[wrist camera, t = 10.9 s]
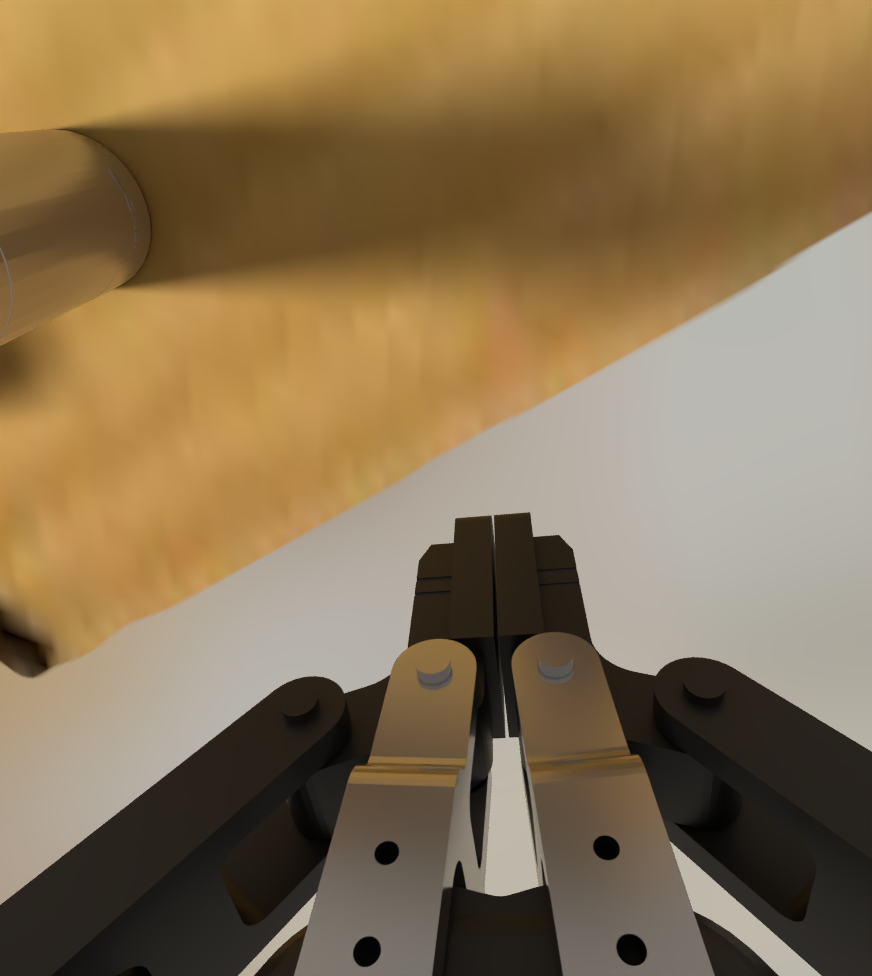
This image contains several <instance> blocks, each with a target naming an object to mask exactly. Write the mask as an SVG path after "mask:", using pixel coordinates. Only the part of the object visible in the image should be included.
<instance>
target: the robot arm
mask: <svg viewBox="0 0 872 976" xmlns="http://www.w3.org/2000/svg"><path fill="white" fill-rule="evenodd" d="M150 238H151V231H150V218H149V214H148V209H147V205H146V202H145V200H144V197H143V195H142V192H141V190H140V188H139V186H138V184H137V183H136V181H135V179H134V178H133V176H132V175H131V173H130V172H129V170H128V169H127V168H126V167H125V166H124V165H123V164H122V162H121V161H120V160H119V159H118V158H117V157H116V156H115V155H114V154H113V153H111V152H110V151H109V150H108V149H106V148H105V147H104V146H103V145H101V144H99V143H98V142H96V141H94V140H92V139H90V138H88V137H86V136H84V135H81V134H78V133H74V132H71V131H67V130H54V129H50V130H37V131H24V132H7V133H0V346H1V345H3V344H5V343H7V342H9V341H11V340H13V339H15V338H17V337H19V336H21V335H23V334H25V333H27V332H29V331H31V330H33V329H35V328H37V327H39V326H41V325H43V324H45V323H47V322H49V321H51V320H52V319H54V318H56V317H58V316H60V315H62V314H64V313H66V312H68V311H70V310H72V309H74V308H76V307H78V306H80V305H82V304H84V303H86V302H88V301H90V300H92V299H94V298H96V297H98V296H100V295H102V294H104V293H106V292H108V291H110V290H112V289H114V288H116V287H118V286H120V285H122V284H123V283H125V282H126V281H128V280H129V279H130V278H132V277H133V276H134V275H135V274H136V273H137V271H138V270H139V269H140V268H141V266H142V265H143V262H144V260H145V258H146V256H147V253H148V249H149V244H150ZM494 525H495V543H494V534H493V525H492V517H491V516H480V517H468V518H456V519H455V533H454V543H451V544H450V543H449V544H435V545H431V546H430V547H429V549H428V550H427V551H426V553H425V554H424V555H423V556H422V558H421V559H420V560H419V566H418V573H417V582H416V588H415V597H414V604H413V612H412V619H411V627H410V634H409V642H408V649H406V650H405V651H404V652H402V653H401V654H400V656H399V657H398V658H397V659H396V661H395V663H394V665H393V668H392V671H391V674H390V675H389V676H388V677H386V678H385V679H383V680H381V681H379V682H377V683H375V684H372V685H370V686H367V687H364V688H361V689H357V690H354V691H351V692H348V693H345V694H344V693H343V691H342V689H341V687H340V686H339V685H338V684H337V683H335V682H334V681H332V680H330V679H327V678H324V677H316V676H315V677H303V678H299V679H295V680H293V681H290V682H288V683H286V684H284V685H282V686H280V687H279V688H277V689H276V690H274V691H273V692H272V693H271V694H269V695H268V696H267V697H266V698H264V699H263V700H262V701H260V702H259V703H258V704H257V705H255V706H254V707H253V708H251V710H249V711H248V712H246V713H245V714H244V715H243V716H241V717H240V718H239V719H238V720H236V721H235V722H234V723H232V724H231V725H230V726H229V727H227V728H226V729H225V730H223V731H222V732H221V733H220V734H218V735H217V736H216V737H215V738H213V739H212V740H211V741H209V742H208V743H207V744H205V745H204V746H203V747H202V748H200V749H199V750H198V751H197V752H195V753H194V754H193V755H192V756H190V757H189V758H188V759H187V760H185V761H184V762H182V763H181V764H180V765H179V766H177V767H176V768H175V769H174V770H172V771H171V772H170V773H168V774H167V775H166V776H165V777H163V778H162V779H161V780H160V781H158V782H157V783H156V784H154V785H153V786H152V787H151V788H149V789H148V790H147V791H145V792H144V793H143V794H142V795H140V796H139V797H138V798H136V799H135V800H134V801H133V802H132V803H130V804H129V805H128V806H126V807H125V808H124V809H123V810H121V811H120V812H119V813H117V814H116V815H115V816H114V817H112V818H111V819H110V820H108V821H107V822H106V823H105V824H103V825H102V826H101V827H99V828H98V829H97V830H96V831H94V832H93V833H92V834H90V835H89V836H88V837H87V838H85V839H84V840H83V841H82V842H80V843H79V844H78V845H77V846H75V847H74V848H73V849H71V850H70V851H69V852H67V853H66V854H65V855H64V856H62V857H61V858H60V859H59V860H57V861H56V862H55V863H54V864H52V865H51V866H50V867H48V868H47V869H46V870H44V871H43V872H42V873H41V874H39V875H38V876H37V877H36V878H34V879H33V880H32V881H30V882H29V883H28V884H27V885H25V886H24V887H23V888H22V889H20V890H19V891H18V892H17V893H15V894H14V895H13V896H11V897H10V898H9V899H7V900H6V901H5V902H4V903H2V904H1V905H0V976H238V975H239V974H240V973H241V972H242V971H243V969H245V968H246V966H247V965H248V964H249V963H250V962H251V961H252V960H253V959H254V958H255V957H256V956H257V955H258V954H259V953H260V952H261V951H262V949H263V948H264V947H265V946H266V945H267V944H268V943H269V942H270V941H271V940H272V939H273V938H274V937H275V936H276V935H277V934H278V933H279V932H280V930H281V929H282V928H283V927H284V926H285V925H286V924H287V923H288V922H289V921H290V920H291V919H292V918H293V917H294V916H295V914H296V913H297V912H298V911H299V910H300V909H301V908H302V907H303V906H304V905H305V904H306V903H307V902H308V901H309V900H310V899H311V898H312V897H313V896H314V894H315V893H316V892H317V894H316V898H315V902H314V905H313V909H312V912H311V916H310V920H309V924H308V925H307V926H306V927H304V928H303V929H301V930H300V931H299V932H297V933H296V934H295V935H293V936H292V937H291V938H290V939H289V940H288V941H287V942H285V943H284V944H283V945H282V946H281V947H280V948H279V949H278V950H277V951H276V952H275V953H274V954H273V955H272V956H271V957H270V958H269V959H268V960H267V962H266V963H265V964H264V965H263V966H262V967H261V969H260V970H259V971H258V972H257V973H256V974H255V975H254V976H778V975H777V974H776V973H775V972H774V971H773V970H772V969H771V968H770V967H769V966H768V965H767V964H766V963H765V962H764V961H763V960H762V959H761V958H760V957H759V956H758V955H757V954H756V953H755V952H754V951H752V950H751V949H750V948H749V947H748V946H747V945H745V944H744V943H743V942H742V941H740V940H739V939H738V938H736V937H735V936H734V935H733V934H732V933H730V932H729V931H727V930H726V929H724V928H723V927H721V926H719V925H718V924H716V923H715V922H713V921H711V920H710V919H708V918H706V917H704V916H702V915H700V914H698V913H696V912H694V911H693V909H692V906H691V903H690V900H689V898H688V894H687V891H686V888H685V885H684V882H683V879H682V877H681V873H680V871H679V867H678V865H677V862H676V859H675V856H674V852H673V850H672V847H671V844H670V841H671V842H672V843H673V844H674V845H675V846H676V847H677V848H678V849H680V850H681V851H682V852H683V853H684V854H685V855H686V856H687V857H689V858H690V859H691V860H692V861H693V862H694V863H696V865H698V866H699V867H700V868H701V869H702V870H703V871H704V872H706V873H707V874H708V875H709V876H710V877H711V878H712V879H713V880H715V881H716V882H717V883H718V884H719V885H720V886H721V887H722V888H724V889H725V890H726V891H727V892H728V893H729V894H730V895H731V896H733V897H734V898H735V899H736V900H737V901H738V902H739V903H740V904H742V905H743V906H744V907H745V908H746V909H747V910H748V911H749V912H751V913H752V914H753V915H754V916H755V917H756V918H757V919H759V920H760V921H761V922H762V923H763V924H764V925H765V926H766V927H768V928H769V929H770V930H771V931H772V932H773V933H774V934H775V935H777V936H778V937H779V938H780V939H781V940H782V941H783V942H785V943H786V944H787V945H788V946H789V947H790V948H791V949H792V950H793V951H795V952H796V953H797V954H798V955H799V956H800V957H801V958H803V959H804V960H805V961H806V962H807V963H808V964H809V965H810V966H811V967H813V968H814V969H815V970H816V971H817V972H818V973H819V974H821V975H822V976H872V752H871V751H870V750H868V749H866V748H865V747H863V746H861V745H860V744H858V743H856V742H855V741H853V740H851V739H850V738H848V737H846V736H845V735H843V734H841V733H840V732H838V731H836V730H835V729H833V728H832V727H830V726H828V725H827V724H825V723H823V722H822V721H820V720H818V719H817V718H815V717H813V716H812V715H810V714H808V713H807V712H805V711H803V710H802V709H800V708H799V707H797V706H795V705H793V704H792V703H790V702H788V701H787V700H785V699H784V698H782V697H780V696H779V695H777V694H775V693H774V692H772V691H770V690H769V689H767V688H765V687H764V686H762V685H761V684H759V683H757V682H756V681H754V680H752V679H751V678H749V677H747V676H746V675H744V674H742V673H741V672H739V671H737V670H736V669H734V668H732V667H730V666H728V665H727V664H724V663H721V662H719V661H715V660H711V659H707V658H697V657H696V658H694V657H691V658H683V659H679V660H675V661H673V662H671V663H669V664H667V665H665V666H664V667H663V668H662V669H661V670H660V671H659V672H658V674H657V675H656V676H653V675H648V674H643V673H638V672H633V671H629V670H626V669H623V668H620V667H618V666H616V665H614V664H612V663H610V662H609V661H607V660H606V659H604V658H603V657H602V656H601V655H600V654H599V653H598V651H597V650H596V649H595V647H594V646H593V644H592V641H591V638H590V633H589V628H588V623H587V618H586V613H585V608H584V603H583V598H582V593H581V588H580V585H579V578H578V574H577V570H576V563H575V558H574V553H573V549H572V548H571V547H570V546H569V545H568V544H567V543H566V542H565V541H564V540H563V539H562V538H561V537H560V536H559V535H555V536H541V537H533V533H532V525H531V516H530V513H516V514H504V515H494ZM503 686H504V689H503ZM504 695H505V704H506V713H507V721H508V731H509V737H519V744H520V753H521V763H522V773H523V782H524V789H525V795H526V803H527V809H528V816H529V822H530V829H531V836H532V843H533V849H534V856H535V863H536V869H537V876H538V882H539V887H536V888H532V889H529V890H525V891H522V892H519V893H515V894H512V895H508V896H492V895H488V894H485V871H486V857H487V856H486V855H487V843H488V828H489V814H490V800H491V786H492V776H491V767H492V762H493V742H492V741H493V738H505V715H504Z"/></svg>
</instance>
